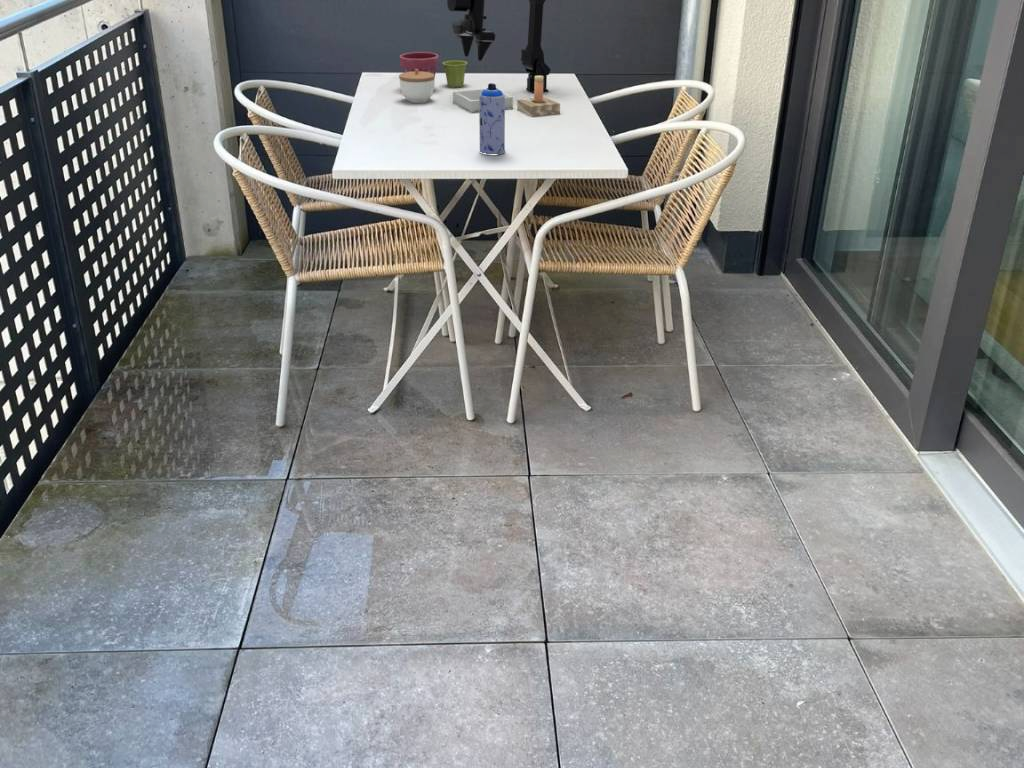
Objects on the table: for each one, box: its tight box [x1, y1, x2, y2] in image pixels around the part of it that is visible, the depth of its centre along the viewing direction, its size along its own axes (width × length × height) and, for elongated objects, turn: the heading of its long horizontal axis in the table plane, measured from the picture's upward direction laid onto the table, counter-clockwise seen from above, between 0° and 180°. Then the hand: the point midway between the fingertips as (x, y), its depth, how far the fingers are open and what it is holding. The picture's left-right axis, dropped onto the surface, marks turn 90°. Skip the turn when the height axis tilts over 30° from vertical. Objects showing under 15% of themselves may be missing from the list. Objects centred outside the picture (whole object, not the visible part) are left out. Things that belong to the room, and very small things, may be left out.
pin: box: [533, 76, 544, 103], centre depth 347 cm, size 3×3×12 cm
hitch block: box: [516, 96, 561, 118], centre depth 349 cm, size 11×11×4 cm
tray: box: [452, 88, 514, 113], centre depth 356 cm, size 16×16×4 cm
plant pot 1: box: [399, 51, 440, 76], centre depth 376 cm, size 14×14×13 cm
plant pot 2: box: [442, 60, 468, 88], centre depth 384 cm, size 9×9×9 cm
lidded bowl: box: [398, 69, 436, 104], centre depth 361 cm, size 13×13×11 cm
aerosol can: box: [478, 83, 506, 155], centre depth 298 cm, size 8×8×20 cm
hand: (473, 58), depth 360 cm, fingers open, 9 cm apart
